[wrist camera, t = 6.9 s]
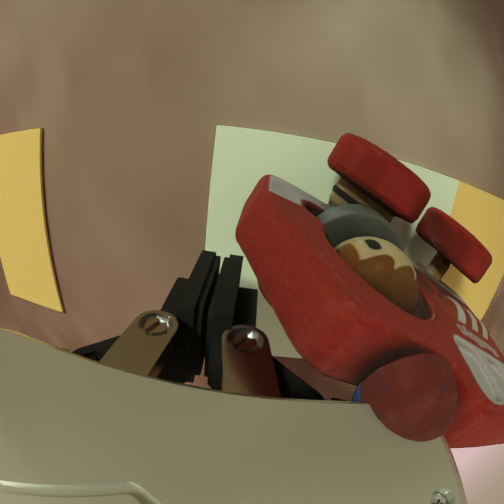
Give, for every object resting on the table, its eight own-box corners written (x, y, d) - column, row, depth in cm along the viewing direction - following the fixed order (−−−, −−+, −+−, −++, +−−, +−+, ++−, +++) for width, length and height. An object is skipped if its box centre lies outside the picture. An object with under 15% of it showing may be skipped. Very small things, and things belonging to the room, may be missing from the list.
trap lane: (-11, 137, 11) (-13, 137, 11) (523, 210, 11) (525, 211, 11) (12, 292, 16) (10, 294, 16) (456, 356, 16) (457, 358, 16)
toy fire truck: (297, 105, 10) (455, 18, 1) (473, 247, 12) (589, 366, 3) (218, 241, 13) (139, 467, 4) (403, 336, 15) (464, 482, 6)
